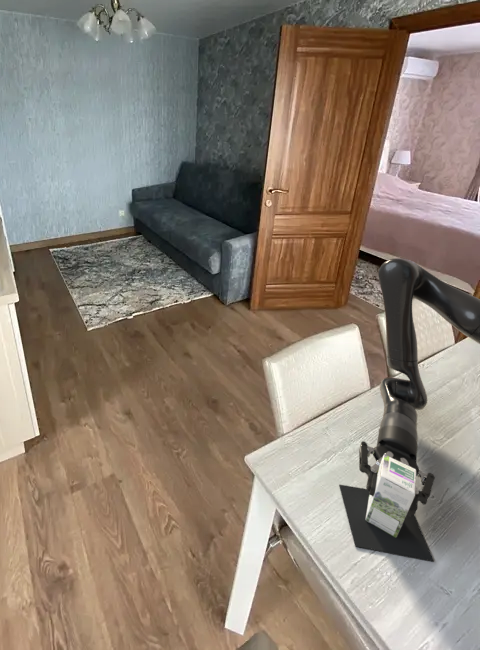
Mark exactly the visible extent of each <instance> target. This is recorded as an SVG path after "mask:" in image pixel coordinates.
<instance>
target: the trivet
mask: <svg viewBox="0 0 480 650" xmlns="http://www.w3.org/2000/svg"><path fill="white" fill-rule="evenodd" d="M338 486H339V490H340V495H341V498H342V501H343V505H344V509H345V513H346V517H347V521H348V524H349V528H350V532H351V536H352V539H353V543H354V547H355V548H359V549H364V550H368V551H375V552H380V553H385V554H391V555H395V556H401V557H406V558H412V559H417V560H422V561H427V562H432V563H433V562H435V560H434V558H433V555H432V552H431V550H430V548H429V546H428V543H427V541H426V539H425V537H424V534H423V532H422V530H421V527H420V524H419V522H418V519H417V517H416V514H415V515H411V517H410V516H408V515H406V517H405V519H404V522H403V524H402V526H401V528H400V531H399V533H398V535H397V537H396V538H395V537H393V536H391V535H390V534H388V533H386V532H385V531H383V530H381V529H379V528H378V527H376V526H374V525H372V524H371V523H369V522H367V521H366V513H367V507H368V500H369V495H370V494H369V492H370V491H368V490H367V488H364V487H363V488H362V487H357V486H352V485H346V484H339V485H338Z"/></svg>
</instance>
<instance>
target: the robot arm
mask: <svg viewBox="0 0 480 650" xmlns="http://www.w3.org/2000/svg"><path fill="white" fill-rule="evenodd" d="M377 275H378V280H379V287H380V290H381V296H382V299H383V307H384V315H385V343H386V344H385V345H386V347H385V349H386V365H387V366H388V368H390V369H391V370H394V371H395V372H399V373H401V374H403V375H404V376H406V377H407V378H408V379H405V378H399V377H393V376H386V377H384V378H383V379H382V380H381V381H380V384H379V391H380V396H381V399H382V403H383V412H382V413H383V414H382V419H381V421H380V424H379V428H378V435H377V439H376V440H377V442H376V446H374V447H372V446H368V443H367V442H366V441H362V440H361V443H360V445H359V448H358V460H359V461H358V464H359V465H358V466H359V472H361V473H362V474H363V473H364V474H366V476H367V481H366V486H365V487H366V488H365V489H367V490H368V491H370V492H369V494H370V495H371V496H373V495H374V492H375V488H376V482H377V472H378V470H379V467H380V464H381V461H382V458H383V455H384V454H385V455H387V456H389V457H391V458H393V459H395V460H397V461H399V462H401V463H403V464H406V465H408V466H410V467H412V468H414V469H416V477H418V478H419V482H420V484H421V485H422V488H421V490H419V489H418V486H417V485H416V488H415V497H414V499H413V501H412V504H411V506H410V508H409V510H408V513H407V515H408V516H410V517H411V515H415V516H416V513H417V511H418V502H420V503H421V504H422V505H427V503H428V500H429V498H430V496H431V493H432V489H433V487H434V486H433V485H434V482H435V479H436V476H435V475H434V474H433V473H432V472H428V473H425V472H424V471H422V470H421V469H420V468H419V466H418V464H417V460H418V440H419V435H418V412H417V411H421V410H423V409H425V408H426V407H427V405H428V393H427V391H426V387H425V385H424V383H423V380H422V377H421V373H420V368H419V356H418V355H419V354H418V338H417V333H416V327H415V322H414V317H413V301H414V299H416V300H418V301H419V302H421V303H423V304H425V305H426V306H428V307H429V308H430V309H431V310H433V311H434V312H436V313H437V315H439V316H441V318H442V319H444V320H445V321H446V322H447V323H448V324H450V325H451V326H452V327H453V328H455V329H456V330H457V331H459V332H460V333H462V334H463V335H464V336H466V337H468V338H469V339H471V340H472V341H474V342H475V343H477V344H479V345H480V298H479V297H476V296H474V295H473V294H470V293H468V292H466V291H464V290H461V289H458V288H457V287H455V286H452V285H450V284H448V283H447V282H445V281H443V280H441V278H438V277H437V276H436V275H433V274H432V273H431V272H429V271H428V270H426V269H425V268H423V267H422V266H421V265H419V264H418V263H416V262H415V261H413V260H411V259H409V258H403V257H396V258H390V259H388V260H385V261H384V262H383V263H382V264H381V265H380V267H379V268H378V273H377ZM413 298H414V299H413ZM371 455H372V456H373V458H374V459H375V463H374V464H373V465H372V466H371V465H370V464H369V457H370V456H371Z"/></svg>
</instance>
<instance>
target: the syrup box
mask: <svg viewBox="0 0 480 650" xmlns="http://www.w3.org/2000/svg"><path fill="white" fill-rule="evenodd" d="M416 481H417V476H416V469H414V468H412V467H410V466H408V465H406V464H403V463H401V462H399V461H397V460H395V459H393V458H391V457H389V456H387V455H385V454H384V455H383V458H382V461H381V464H380V467H379V470H378V472H377V482H376V488H375V492H374V495H373V496H371V495H369V500H368V507H367V513H366V521H367V522H369V523H371V524H372V525H374V526H376V527H378V528H379V529H381V530H383V531H385V532H386V533H388V534H390V535H391V536H393V537H395V538H396V537H397V535H398V533H399V531H400V528H401V526H402V524H403V522H404V519H405V517H406V515H407V513H408V510H409V508H410V506H411V504H412V501H413V499H414V497H415V488H416V486H417V482H416Z"/></svg>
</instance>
